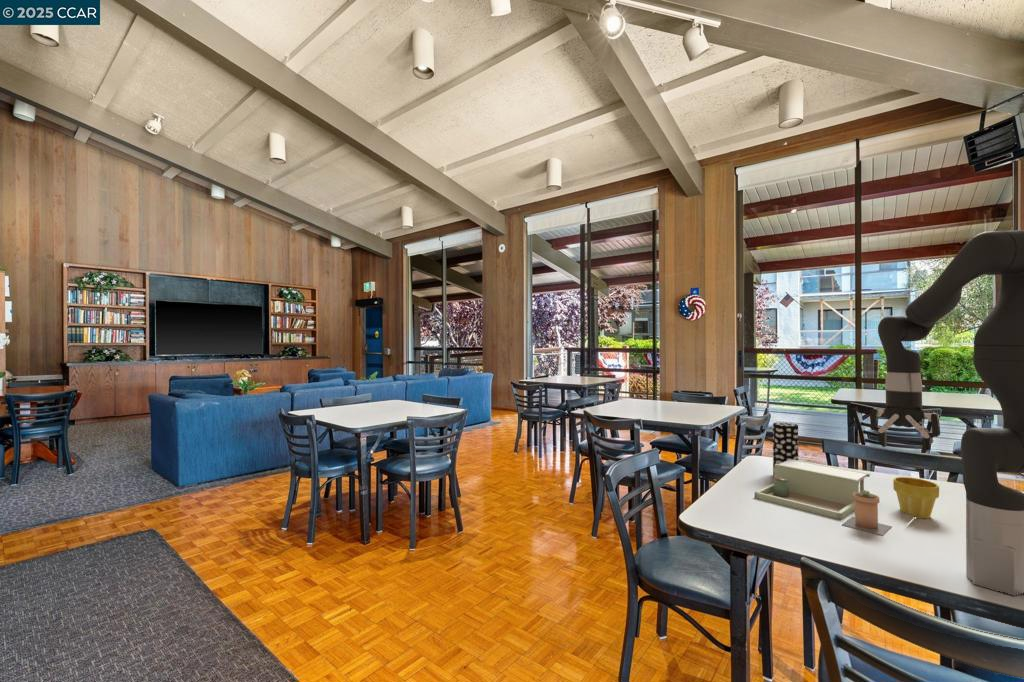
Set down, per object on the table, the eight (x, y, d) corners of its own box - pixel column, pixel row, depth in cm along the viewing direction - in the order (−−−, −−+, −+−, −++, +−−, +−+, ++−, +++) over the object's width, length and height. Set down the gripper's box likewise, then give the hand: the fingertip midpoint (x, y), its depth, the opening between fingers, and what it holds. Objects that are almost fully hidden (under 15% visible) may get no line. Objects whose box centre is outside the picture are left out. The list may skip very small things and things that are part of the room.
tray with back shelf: (841, 522, 132) (840, 490, 132) (754, 499, 151) (754, 472, 151) (869, 500, 149) (869, 473, 149) (789, 483, 168) (788, 458, 168)
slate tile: (882, 538, 121) (882, 535, 121) (841, 528, 128) (841, 524, 128) (891, 529, 126) (891, 526, 126) (852, 519, 134) (852, 516, 134)
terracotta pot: (876, 531, 123) (875, 495, 123) (850, 524, 128) (849, 489, 128) (882, 525, 127) (881, 490, 127) (857, 519, 131) (856, 485, 131)
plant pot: (948, 522, 131) (948, 488, 131) (907, 519, 133) (906, 486, 133) (924, 509, 141) (924, 477, 141) (885, 507, 144) (885, 475, 144)
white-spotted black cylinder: (794, 474, 178) (794, 422, 178) (801, 480, 170) (801, 426, 170) (770, 472, 181) (770, 422, 181) (776, 479, 173) (776, 425, 173)
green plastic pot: (789, 497, 150) (789, 482, 150) (773, 495, 152) (774, 479, 152) (788, 494, 154) (789, 478, 154) (773, 491, 156) (773, 476, 156)
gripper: (867, 388, 128) (867, 446, 127) (936, 392, 117) (937, 456, 116) (874, 386, 132) (875, 443, 132) (941, 390, 121) (942, 451, 121)
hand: (904, 449), depth 124 cm, fingers open, 8 cm apart
